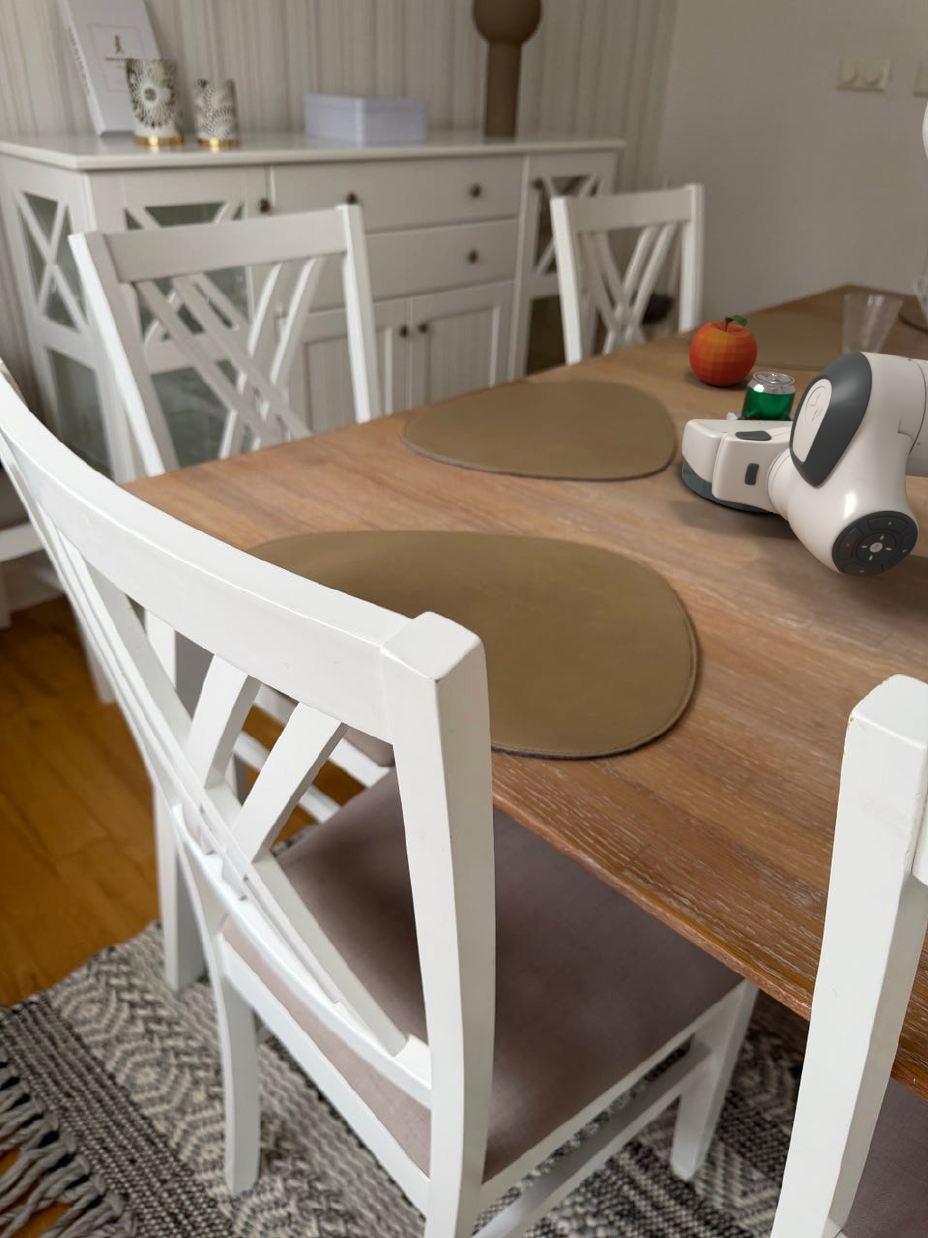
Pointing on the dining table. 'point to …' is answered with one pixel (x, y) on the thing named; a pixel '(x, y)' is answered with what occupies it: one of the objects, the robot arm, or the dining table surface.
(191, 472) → the dining table surface
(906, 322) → the dining table surface
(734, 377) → the fruit
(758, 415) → the soda can
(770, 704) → the dining table surface
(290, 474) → the dining table surface
